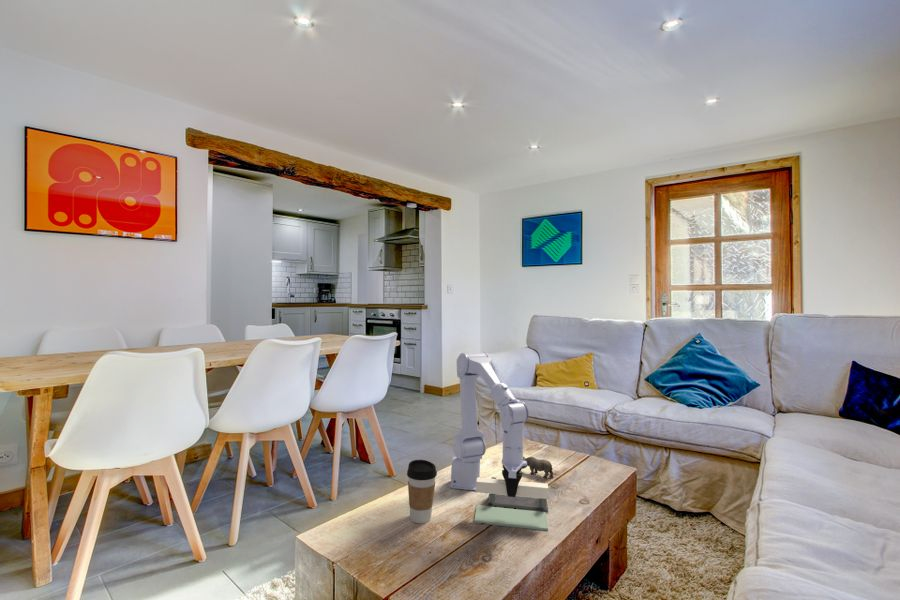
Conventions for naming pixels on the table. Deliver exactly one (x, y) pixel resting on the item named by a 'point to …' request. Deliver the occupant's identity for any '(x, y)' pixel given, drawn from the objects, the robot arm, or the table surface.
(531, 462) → the rhino figurine
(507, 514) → the mat
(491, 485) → the rail
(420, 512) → the coffee cup
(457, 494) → the table surface
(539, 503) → the rack
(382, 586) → the table surface
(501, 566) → the table surface
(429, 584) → the table surface
